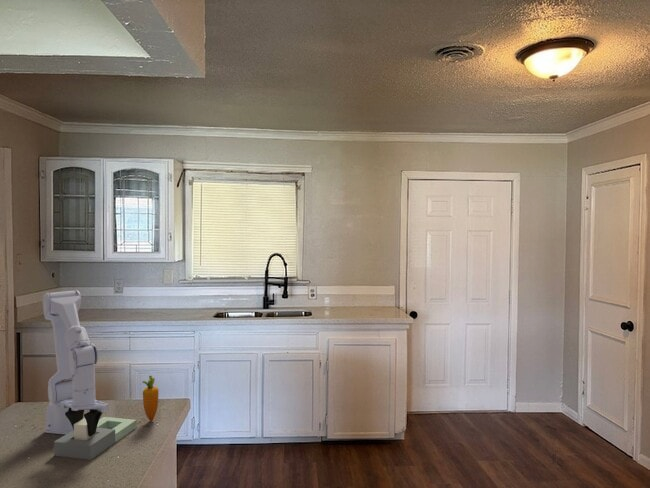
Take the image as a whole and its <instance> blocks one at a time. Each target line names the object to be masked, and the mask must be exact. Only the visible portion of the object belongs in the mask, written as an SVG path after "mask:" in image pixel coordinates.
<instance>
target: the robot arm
mask: <svg viewBox="0 0 650 488" xmlns="http://www.w3.org/2000/svg"><path fill="white" fill-rule="evenodd" d="M81 306H82V294H81V292H80V291H79V290H78V289H74V290H66V291H57V292H56V291H54V292H45V293H44V294H43V296H42V308H43V309H42V310H43V316H44V320H48V321H50V322H51V325H52V332H53V343H54V351H55V353H54V354H55V363H56V369H57V370H56V372H55V373H54V374H53V375H52V376H51V377H50V378H49V380H48V382H47V385H48V386H47V398H48V402H49V403H48V405H47V407H46V411H45V422H46V423H45V426H46V429H45V430H44V431H43V432H44V433H48V434H56V435H66V434H68V433H69V432H71V431H73V430H74V424H75V423H77V422H79V421H80V420H82V419H84V418H85V419H86V422H87V428H88V435H89V436H92V435H94V434H95V433H96V429H97V425H98V422H99V419H101V418H102V415H103V414H104V413H106V412H107V411H109V407H110V406H109V403H107V402H103V401H100V400H97V399H96V369H95V367H96V366H95V365H96V364H97V363H98V359H99V357H98V356H99V355H98V350H97V346H96V344H94V343H93V341H92V342H91V341H90V338H89V335H88V333H87V328H85V327H84V326H82V325H81V323H80V319H79V314H78V312H79V311H80V307H81ZM67 379H69V380H67ZM85 411H88V412H86V413H85Z"/></svg>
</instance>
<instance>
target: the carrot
mask: <svg viewBox="0 0 650 488" xmlns="http://www.w3.org/2000/svg"><path fill="white" fill-rule="evenodd" d="M148 378H149V379H148V382H147V381H145V380H142V384H145V385H146V387H145V388H144V389H143V390H142V401H143V402H142V403H143V408H144V412H145V415H146V418H147V419H148V420H149V421H150V422H153V421H154V419H155V417H156V414H157V411H158V407H159V406H158V405H159V388H158V387H157V386H155V385H154V384H155V380H156V379H155V377H153V375H149V376H148Z"/></svg>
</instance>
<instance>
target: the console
mask: <svg viewBox="0 0 650 488" xmlns="http://www.w3.org/2000/svg"><path fill="white" fill-rule="evenodd" d="M136 428H137V419H132V418H131V419H130V418H129V419H128V418H121V417H110V416H103V417H100V419H99V422H98V425H97V429H96V435H95V436H93V437H91V438H90V439H88V440H87V441H85V440H76V439H74V430H73V431H71V432H69V433H68V434H66V435H65V434H63V436H61V437H59V438H58V439H56V440H54V441H53V456H56V457H63V458H71V459H81V460H88V461H89V460H90V461H91V460H92V461H93V459H94V458H96V457H97V456H99V455H101V453H103V452H104V451H106V450H107V449H108V448H110V447H111V446H113V445H115V443H117V442H119V441H120V440H121V439H123V438H124V437H125V436H127V435H128V434H130V433H131V432H133V431H134V430H135V429H136Z"/></svg>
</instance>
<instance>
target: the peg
mask: <svg viewBox="0 0 650 488" xmlns="http://www.w3.org/2000/svg"><path fill="white" fill-rule="evenodd" d="M95 435H96V433H95V434H94V435H92V436H89V435H88V428H87V422H86V419H85V417H83V419H82V420H80V421H79V422H77V423H75V424H74V439H76V440H85V441H87V440H88V439H90V438H91V437H93V436H95Z"/></svg>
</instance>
